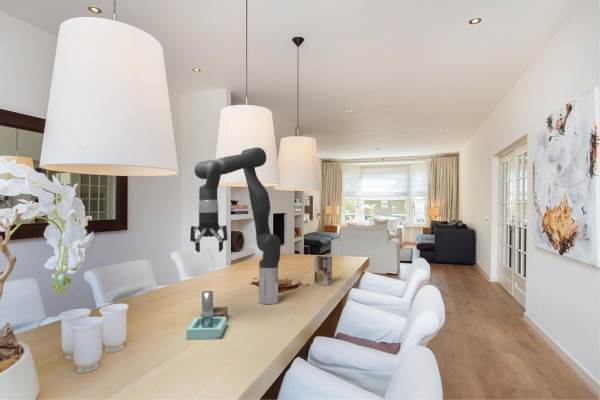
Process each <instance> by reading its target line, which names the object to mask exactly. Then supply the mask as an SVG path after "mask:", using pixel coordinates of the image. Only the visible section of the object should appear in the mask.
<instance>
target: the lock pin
mask: <svg viewBox="0 0 600 400" xmlns="http://www.w3.org/2000/svg"><path fill="white" fill-rule="evenodd" d="M213 307H214V291H213V290H205V291H202V292H201V313H202V328H213Z"/></svg>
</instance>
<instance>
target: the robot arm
mask: <svg viewBox="0 0 600 400" xmlns="http://www.w3.org/2000/svg"><path fill="white" fill-rule="evenodd" d="M266 162H267V153H266V152H265V150H264V149H263V148H262V147H259V146H258V147H252V148H245V149H243V150H242V151H241V152H240V154H234V155H229V156H223V157H220V158H217V159H211V160H204V161H200V162H198V163H196V165H195V167H194V175H195V176H196V177H197V178H198V179H201V180H206V181H205V184H202V185H200V186H199V188H198V190H199V193H198V194H199V197H198V200H199V201H198V225H197V226H195V225H193V226H190V237H189V241H190V242H193V243H195V251H196V253H200V252H201V242H200V241H201V240H202V239H203V237H204V238H207V237H211V238H213V237H215V239H216V240H217V241H218V252H219V253H221V252H222V251H223V250H224V242H225V241H227V240H228V237H229V236H228V227H227V225H225V224H224V225H220V224H219V202H218V201H219V200H218V188H219V185H220V180H221V176H223V175H228V174H230V173H233V172H236V171H238V170H243V174H244V177H245V180H246V185H247V189H248V193H249V194H248V196H249V200H250V205H251V206H250V207H251V211H252V212H251V213H252V216H253V221H254V226H255V240H256V245H257V248H258V249H259V250H260V251H262V259H261V260H259V263H258V272H259V273H258V281H259V286H258V302H259V303H260V304H262V305H274V304H279V291H278V278H279V262H280V259H281V239H280V238H279V236H278V235H276V234H272V233H271V230H270V225H269V218H270V213H271V201H270V196H269V192H268V190H267V189H266V187H265V186H264V184H262V183H261V181H260V179H259V177H258V176H257V173H256V168H260V167H262V166H264V165H265V163H266ZM197 230H198V231H199V232H200V234H198V236H197V237H196V232H197ZM219 231H221V232H222V233H223V234H222V235H223V237H222V236H221V234H220V233H219Z"/></svg>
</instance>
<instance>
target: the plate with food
mask: <svg viewBox="0 0 600 400" xmlns="http://www.w3.org/2000/svg"><path fill="white" fill-rule="evenodd" d="M252 279H253V280H258V281H250V284H252V285H255V286H258V287H259V277H257V278H255V277H253V278H252ZM300 286H302V288H304V287H306V286H310V284H309V283H307V284H304V283H301V282H300V281H299V280H297V279H296V278H295V279H294V278H288V277H278V292H282V291H288V290H293V289H294V290H296V289H298V288H299V287H300Z"/></svg>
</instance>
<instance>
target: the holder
mask: <svg viewBox="0 0 600 400" xmlns="http://www.w3.org/2000/svg"><path fill="white" fill-rule="evenodd" d="M200 317H202V312H201V313H200ZM213 317H227V318H228V306H213Z"/></svg>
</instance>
